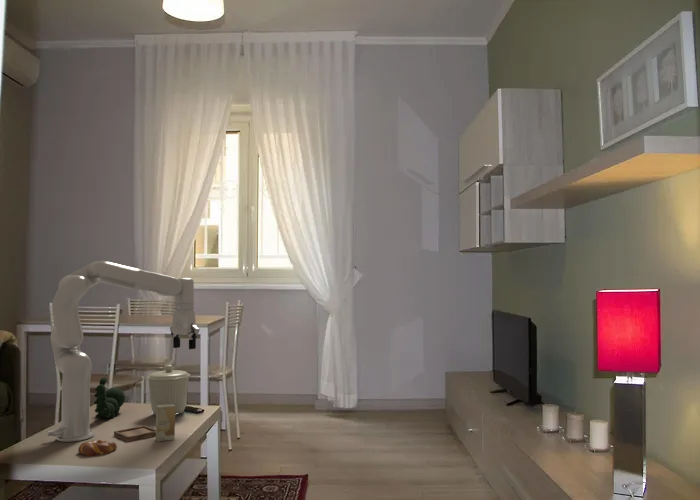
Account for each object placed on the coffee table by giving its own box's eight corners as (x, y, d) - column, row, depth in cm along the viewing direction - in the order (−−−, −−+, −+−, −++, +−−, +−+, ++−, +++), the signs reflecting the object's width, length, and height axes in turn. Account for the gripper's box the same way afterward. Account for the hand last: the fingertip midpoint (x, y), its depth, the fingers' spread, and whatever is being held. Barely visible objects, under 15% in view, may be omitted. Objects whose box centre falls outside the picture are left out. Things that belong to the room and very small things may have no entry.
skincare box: (157, 442, 207) (157, 407, 208) (155, 439, 211) (155, 405, 212) (175, 439, 210) (175, 405, 211) (173, 436, 214) (173, 403, 214)
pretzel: (118, 446, 203) (118, 435, 204) (114, 455, 193) (114, 444, 193) (81, 449, 200) (81, 438, 200) (75, 458, 190) (75, 447, 190)
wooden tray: (127, 441, 208) (127, 437, 208) (113, 435, 216) (113, 431, 216) (159, 435, 216) (159, 430, 216) (144, 429, 225) (144, 425, 225)
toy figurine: (111, 426, 237) (130, 407, 262) (110, 380, 237) (129, 366, 262) (88, 427, 237) (108, 408, 262) (87, 381, 236) (107, 366, 261)
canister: (179, 419, 241) (179, 368, 242) (138, 418, 243) (138, 367, 244) (197, 409, 258) (197, 362, 259) (159, 408, 261) (159, 361, 262)
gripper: (163, 307, 245) (163, 348, 245) (191, 308, 236) (191, 350, 235) (178, 306, 252) (177, 346, 251) (205, 307, 242) (205, 348, 241)
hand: (184, 348), depth 243 cm, fingers open, 9 cm apart
